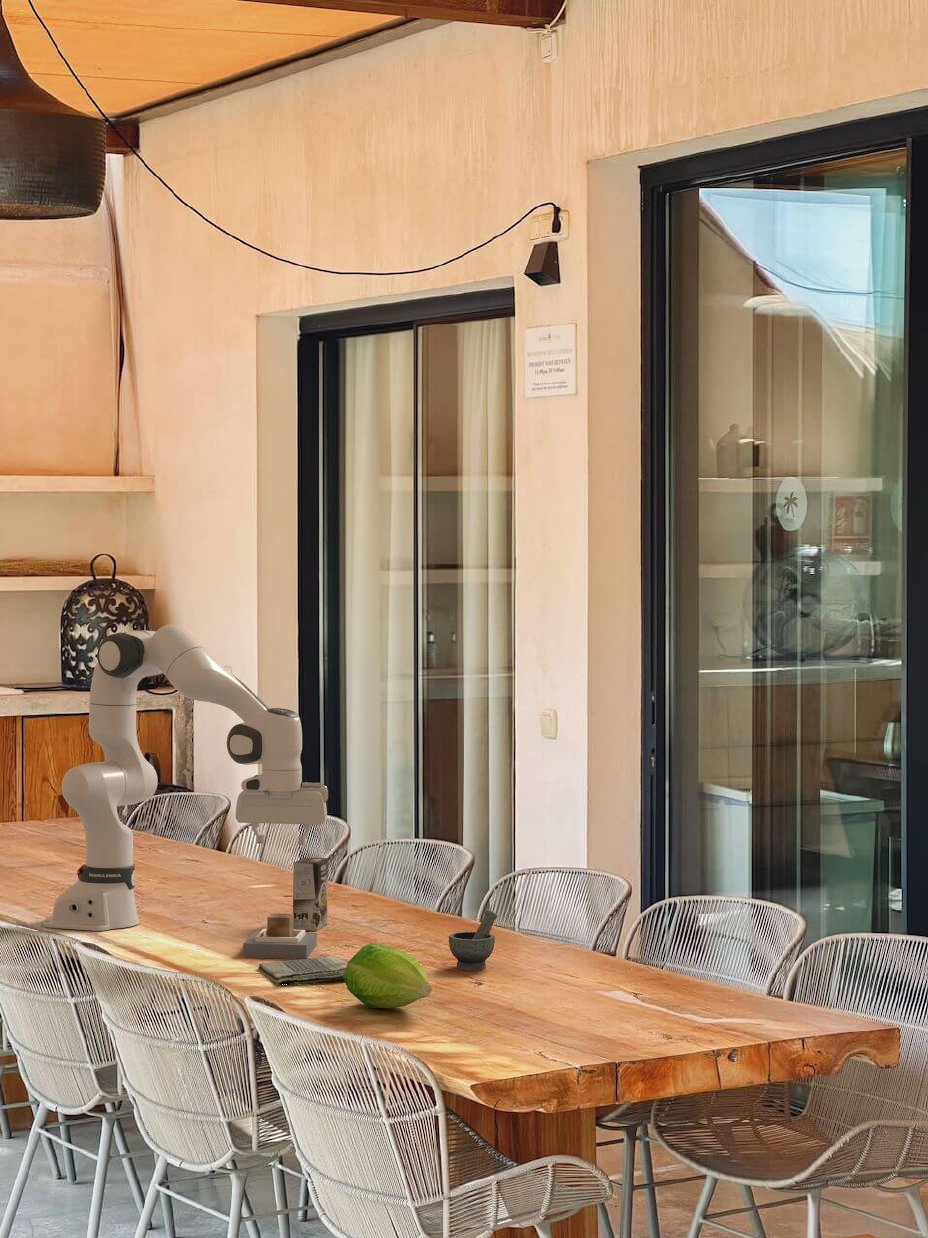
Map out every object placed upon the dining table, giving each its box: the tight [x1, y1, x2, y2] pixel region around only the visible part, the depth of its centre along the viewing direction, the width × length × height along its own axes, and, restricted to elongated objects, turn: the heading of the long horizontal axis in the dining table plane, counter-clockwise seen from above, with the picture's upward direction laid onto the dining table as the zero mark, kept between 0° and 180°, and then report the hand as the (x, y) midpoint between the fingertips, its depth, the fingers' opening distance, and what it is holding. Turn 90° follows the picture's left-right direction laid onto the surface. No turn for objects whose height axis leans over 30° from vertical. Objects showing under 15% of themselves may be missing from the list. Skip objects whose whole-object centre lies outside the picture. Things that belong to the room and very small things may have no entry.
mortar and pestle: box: [448, 909, 498, 972], centre depth 387 cm, size 11×9×12 cm
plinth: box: [242, 928, 318, 960], centre depth 401 cm, size 14×14×4 cm
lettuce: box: [344, 942, 433, 1009], centre depth 347 cm, size 14×20×12 cm
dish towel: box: [258, 956, 348, 987], centre depth 378 cm, size 19×18×3 cm
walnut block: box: [266, 912, 294, 937], centre depth 401 cm, size 5×5×5 cm
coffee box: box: [292, 857, 329, 932], centre depth 430 cm, size 9×6×16 cm
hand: (281, 843), depth 401 cm, fingers open, 8 cm apart
